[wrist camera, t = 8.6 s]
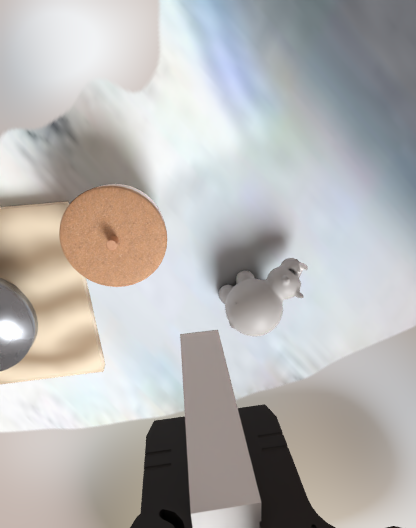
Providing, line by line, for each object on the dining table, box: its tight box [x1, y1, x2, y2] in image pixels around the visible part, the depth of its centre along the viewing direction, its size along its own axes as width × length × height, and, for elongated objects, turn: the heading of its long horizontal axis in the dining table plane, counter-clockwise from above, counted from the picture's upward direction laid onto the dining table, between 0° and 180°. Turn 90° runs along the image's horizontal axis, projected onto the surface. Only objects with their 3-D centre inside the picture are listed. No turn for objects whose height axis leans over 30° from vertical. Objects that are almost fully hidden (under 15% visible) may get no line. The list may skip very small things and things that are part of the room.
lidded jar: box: [59, 184, 167, 287], centre depth 36 cm, size 11×11×9 cm
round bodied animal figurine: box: [219, 258, 308, 336], centre depth 41 cm, size 7×12×8 cm, turn 129°
